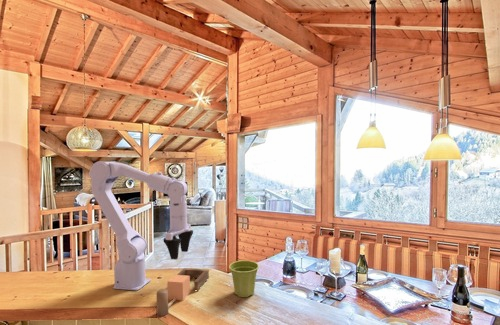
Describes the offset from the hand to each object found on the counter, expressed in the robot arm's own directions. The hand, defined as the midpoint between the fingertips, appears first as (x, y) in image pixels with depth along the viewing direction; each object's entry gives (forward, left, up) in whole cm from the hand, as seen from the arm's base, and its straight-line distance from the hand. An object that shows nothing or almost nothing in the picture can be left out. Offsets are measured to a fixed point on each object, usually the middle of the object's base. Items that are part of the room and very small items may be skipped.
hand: (179, 255), depth 96 cm
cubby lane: (+4, 0, -10) cm, 11 cm away
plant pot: (+24, -3, -10) cm, 26 cm away
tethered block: (+3, -13, -10) cm, 16 cm away
